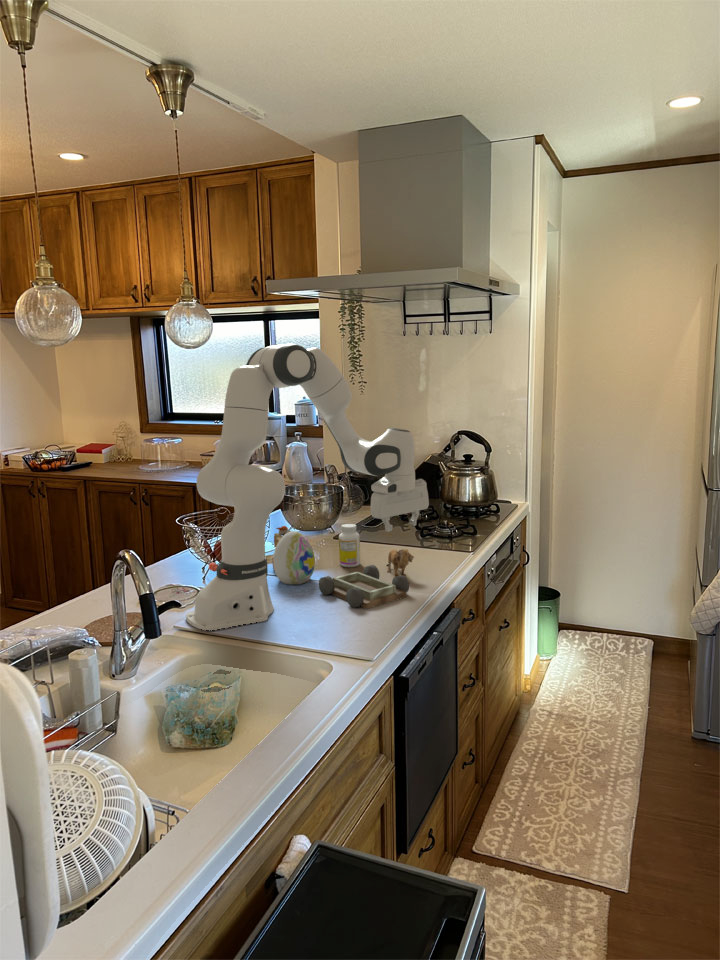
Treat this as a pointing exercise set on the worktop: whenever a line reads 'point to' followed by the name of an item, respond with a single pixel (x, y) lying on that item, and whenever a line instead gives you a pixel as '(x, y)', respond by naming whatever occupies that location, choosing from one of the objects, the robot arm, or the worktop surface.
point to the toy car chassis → (364, 588)
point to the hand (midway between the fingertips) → (401, 528)
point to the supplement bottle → (349, 546)
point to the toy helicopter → (277, 536)
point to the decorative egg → (293, 559)
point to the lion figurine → (399, 560)
